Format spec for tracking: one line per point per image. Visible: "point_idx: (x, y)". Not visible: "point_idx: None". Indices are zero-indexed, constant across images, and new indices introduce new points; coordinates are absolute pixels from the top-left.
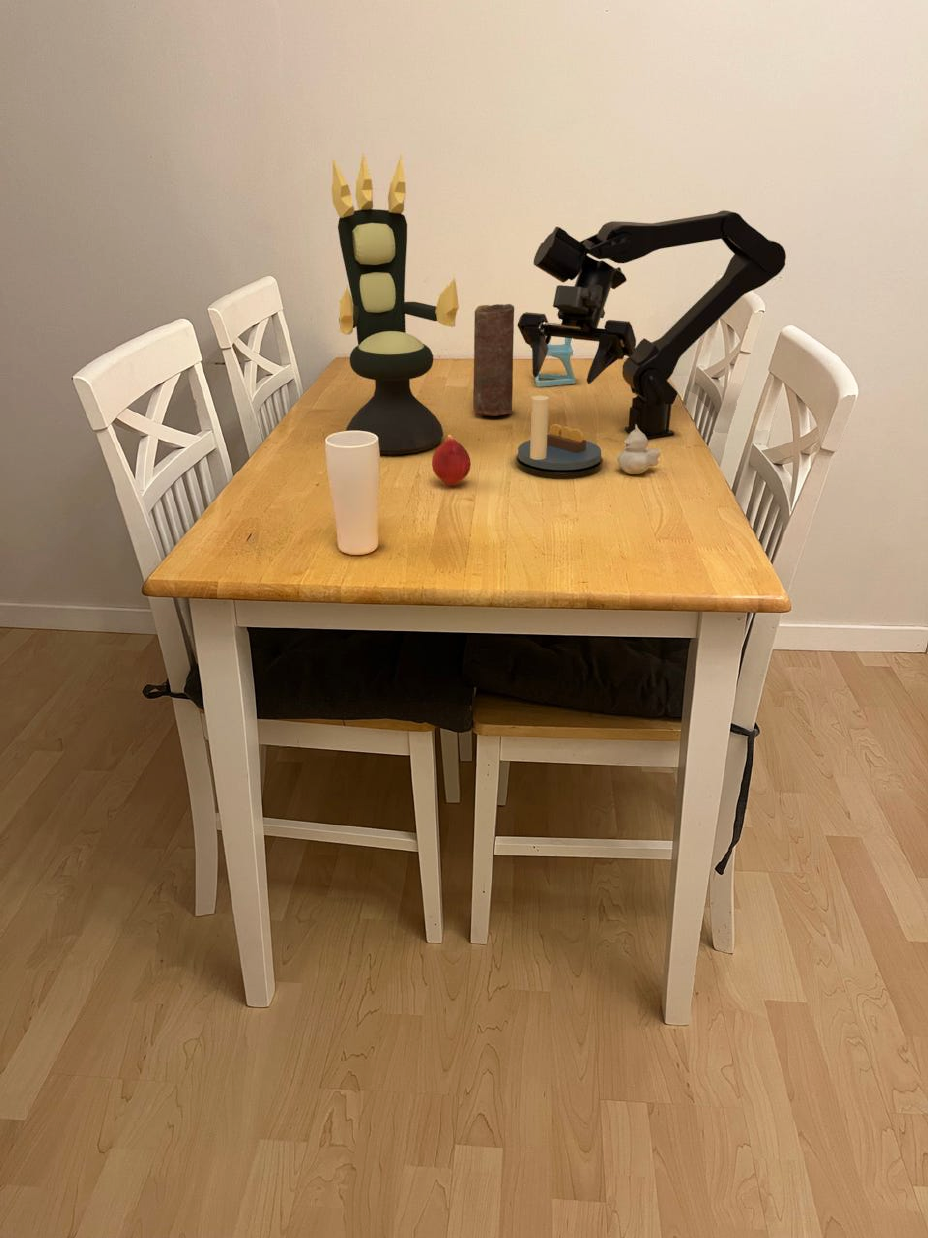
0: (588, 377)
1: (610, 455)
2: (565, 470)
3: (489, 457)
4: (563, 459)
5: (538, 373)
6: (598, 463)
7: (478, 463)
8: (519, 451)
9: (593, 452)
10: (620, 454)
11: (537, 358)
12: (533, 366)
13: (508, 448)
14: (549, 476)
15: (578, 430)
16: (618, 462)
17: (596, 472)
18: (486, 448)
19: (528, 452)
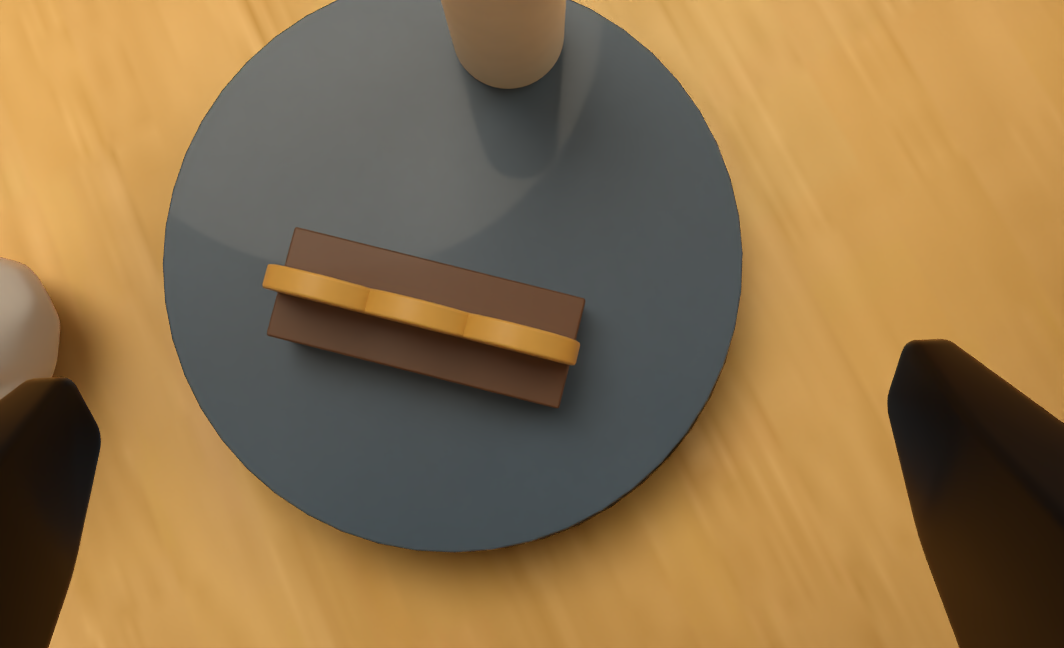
0: (26, 399)
1: (240, 595)
2: None
3: (906, 176)
4: (339, 75)
5: (905, 478)
6: None
7: (909, 42)
8: (675, 83)
9: (217, 309)
10: (6, 299)
11: (1057, 502)
12: (1016, 401)
13: None
14: None
15: (290, 277)
16: (32, 271)
17: None
18: (1016, 327)
19: (610, 92)
